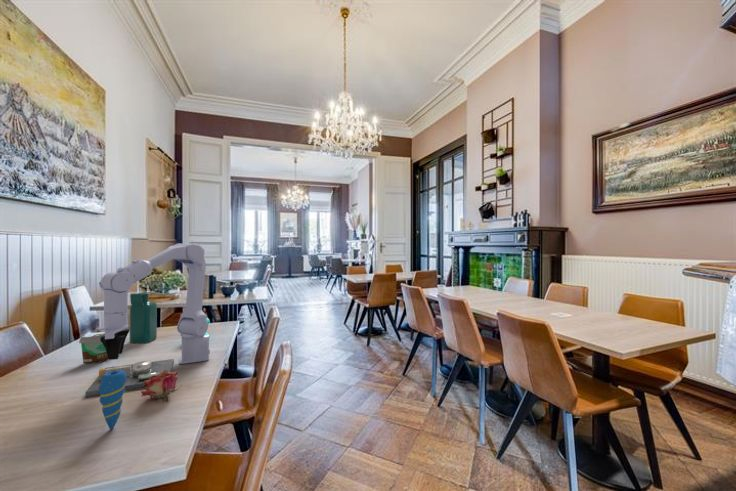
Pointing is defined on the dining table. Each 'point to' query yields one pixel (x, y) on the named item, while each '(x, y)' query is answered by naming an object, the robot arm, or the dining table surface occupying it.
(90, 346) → the food container
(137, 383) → the grey flat square slab
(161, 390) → the flower
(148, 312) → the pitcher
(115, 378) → the ornament
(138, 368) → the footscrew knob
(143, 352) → the dining table surface
